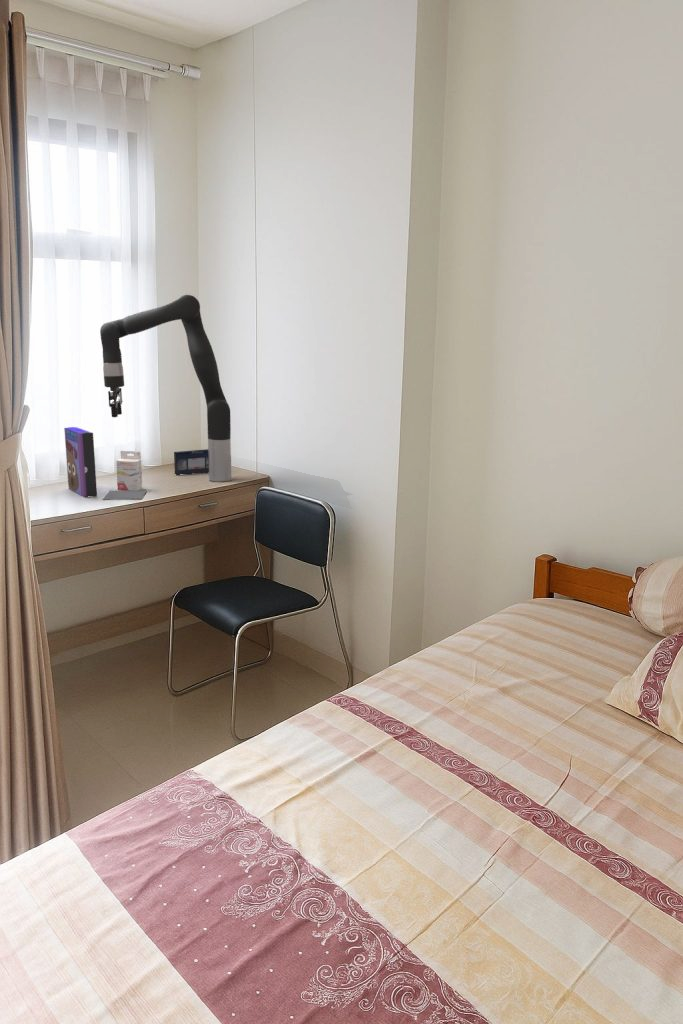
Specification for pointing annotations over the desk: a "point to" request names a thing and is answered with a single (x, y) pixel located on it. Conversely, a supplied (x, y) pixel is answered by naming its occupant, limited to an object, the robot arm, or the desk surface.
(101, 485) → the desk surface
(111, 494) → the mat
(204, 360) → the robot arm
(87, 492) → the cereal box
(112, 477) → the desk surface
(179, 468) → the vhs cassette tape
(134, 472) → the ink cartridge box
